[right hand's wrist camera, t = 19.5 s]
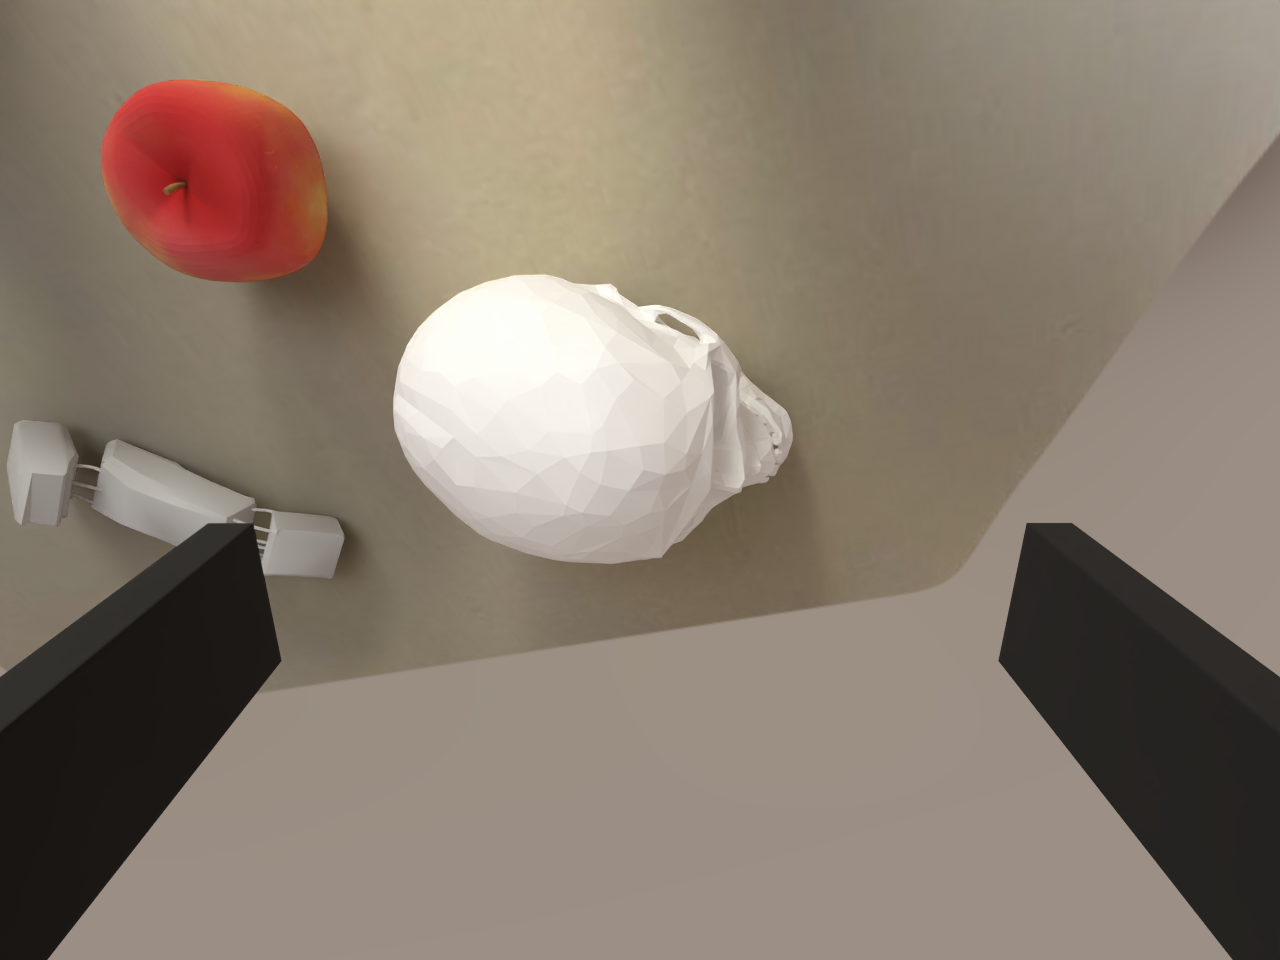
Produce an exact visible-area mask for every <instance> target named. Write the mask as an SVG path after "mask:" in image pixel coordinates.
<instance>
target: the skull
mask: <svg viewBox="0 0 1280 960" xmlns="http://www.w3.org/2000/svg"><path fill="white" fill-rule="evenodd" d="M662 314H669V315H671V316H672V317H674V318H676V319H677V320H679V321H681V322H682V323H684V324H686V325H687V326H689V327H691V328H692V329H693V330H694V331H695V333H696V334H697V336H698V337H699V338H700V340H699V339H697V338H695V337H693V336H689V335H685V334H682V333H681V332H679V331H677V330H675V329H672V328H670V327H669V326H667V325H666V324H664V323H663V321H662V320H661V319H660V317H659V316H658V315H662ZM393 416H394V427H395V432H396V434H397V437H398V439H399V442H400V444H401V447H402V449H403V452H404V455H405V457H406V459H407V460H408V462H409V464H410V465H411V467H412V469H413V470H414V472H415V473H416V474H417V476H418V477H419V478H420V479H421V481H422V482H423V483H424V484H425V486H426V487H427V488H428V489H429V490H430V491H431V492H432V493H433V494H435V495H436V496H437V497H438V498H439V499H440V500H441V501H442V502H443V503H444V504H445V505H446V506H447V507H448V508H449V509H450V510H451V511H452V512H453V513H454V514H455V515H456V516H457V517H458V518H459V519H461V520H462V521H463V522H464V523H466V524H467V525H468V526H470V527H471V528H472V529H473V530H475V531H476V532H477V533H478V534H480V535H481V536H483V537H485V538H487V539H489V540H492V541H494V542H497V543H500V544H502V545H505V546H508V547H510V548H513V549H516V550H518V551H521V552H524V553H526V554H531V555H535V556H539V557H543V558H547V559H551V560H558V561H566V562H579V563H603V564H615V563H622V562H629V561H636V560H647V559H652V558H662V556H663V555H664V553H665V552H666V551H667V550H668V549H669V547H670V546H671V545H673V544H675V543H678V542H680V541H682V540H683V539H684V538H685V537H686V536H687V535H688V534H689V533H690V532H691V531H692V530H693V529H694V528H695V527H696V526H697V525H699V524H700V523H701V522H702V521H703V519H704V518H705V516H706V515H707V514H708V512H709V511H710V510H711V509H712V508H713V507H714V506H716V505H718V504H719V503H721V502H723V501H724V500H726V499H727V498H729V497H731V496H732V495H734V494H737V493H740V492H741V490H742V487H746V486H750V485H754V484H757V483H766V482H767V481H768V480H769V476H775V475H776V473H777V471H778V469H779V466H780V465H781V464H782V463H783V462H784V460H785V459H786V457H787V456H788V453H789V450H790V447H791V444H792V441H793V433H792V425H791V420H790V418H789V416H788V413H787V412H786V410H785V409H784V408H783V407H781V406H780V405H779V404H778V403H776V402H775V401H774V400H772V399H771V398H770V397H768V396H767V395H766V394H764V393H763V392H762V391H761V390H760V389H759V388H757V387H756V386H755V385H754V384H753V383H752V382H751V381H750V380H749V379H748V378H747V377H746V376H745V375H744V374H743V372H742V369H741V367H740V365H739V362H738V361H737V359H736V358H735V357H734V355H733V354H732V352H731V351H730V349H729V348H728V347H727V345H726V344H725V343H724V342H723V340H722V339H721V338H720V337H719V336H718V335H717V334H716V333H715V332H714V331H713V330H712V329H711V328H710V327H708V326H707V325H705V324H704V323H702V322H701V321H699V320H698V319H696V318H695V317H693V316H690V315H688V314H685V313H683V312H681V311H678V310H676V309H673V308H671V307H666V306H661V305H650V306H642V307H638V306H636V305H635V304H633V303H632V302H630V301H629V300H627V299H626V298H624V297H623V296H622V295H620V294H619V293H618V291H617V288H616V287H614V286H613V285H611V284H598V285H586V284H573V283H571V282H569V281H566V280H564V279H562V278H558V277H554V276H549V275H545V274H541V275H514V276H510V277H506V278H501V279H497V280H493V281H488V282H485V283H482V284H480V285H478V286H475V287H473V288H470V289H468V290H465V291H463V292H461V293H459V294H457V295H456V296H455V297H453V298H452V299H450V300H449V301H448V302H446V303H445V304H443V305H442V306H441V307H439V308H438V309H437V310H436V311H434V312H433V313H432V314H431V315H430V316H429V317H428V318H427V319H426V320H425V321H424V322H423V323H422V324H421V325H420V326H419V327H418V329H417V330H416V332H415V334H414V335H413V337H412V338H411V340H410V341H409V343H408V345H407V347H406V349H405V352H404V354H403V357H402V359H401V362H400V364H399V366H398V371H397V378H396V385H395V391H394V398H393ZM767 475H768V476H767Z"/></svg>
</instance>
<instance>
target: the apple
mask: <svg viewBox="0 0 1280 960" xmlns="http://www.w3.org/2000/svg"><path fill="white" fill-rule="evenodd" d="M101 168H102V177H103V182H104V185H105V189H106V191H107V194H108V197H109V199H110V202H111V204H112V206H113V208H114V210H115V212H116V214H117V216H118V217H119V219H120V221H121V222H122V224H123V225H124V226H125V228H126V229H127V230H128V231H129V233H130V234H131V235H132V236H133V237H134V238H135V239H136V240H137V241H138V242H139V243H140V244H141V245H142V246H143V247H144V248H145V249H146V250H147V251H148V252H150V253H151V254H152V255H153V256H155V257H156V258H157V259H158V260H160V261H161V262H163V263H164V264H166V265H167V266H169V267H171V268H173V269H175V270H176V271H179V272H181V273H184V274H186V275H190V276H193V277H197V278H201V279H206V280H213V281H223V282H251V281H262V280H269V279H273V278H278V277H281V276H285V275H288V274H291V273H293V272H295V271H297V270H299V269H301V268H303V267H304V266H306V265H307V264H309V263H310V262H311V261H312V260H313V259H314V258H315V257H316V255H317V254H318V252H319V251H320V249H321V247H322V244H323V242H324V238H325V234H326V227H327V192H326V184H325V178H324V173H323V168H322V164H321V160H320V156H319V153H318V150H317V148H316V145H315V143H314V141H313V139H312V137H311V136H310V134H309V132H308V130H307V129H306V127H305V125H304V124H303V123H302V121H301V120H300V119H299V118H298V117H297V116H296V115H295V114H294V113H293V112H292V111H290V110H289V109H287V108H286V107H285V106H283V105H281V104H280V103H278V102H276V101H275V100H273V99H271V98H269V97H267V96H265V95H262V94H260V93H258V92H255V91H253V90H250V89H247V88H244V87H240V86H236V85H232V84H227V83H221V82H212V81H198V80H171V81H163V82H158V83H155V84H152V85H149V86H147V87H144V88H143V89H141V90H139V91H137V92H136V93H135V94H133V95H132V96H131V97H130V98H129V99H128V100H127V101H126V102H125V103H124V104H123V105H122V106H121V107H120V109H119V110H118V111H117V112H116V114H115V115H114V117H113V119H112V120H111V122H110V124H109V126H108V128H107V131H106V133H105V135H104V138H103V142H102V146H101Z"/></svg>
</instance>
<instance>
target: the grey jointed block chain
mask: <svg viewBox="0 0 1280 960" xmlns="http://www.w3.org/2000/svg"><path fill="white" fill-rule="evenodd" d="M78 457H79V456H78V454H77V451H76V449H75V446H74V444H73V441H72V439H71V437H70V434H69V432H68V429H67V428H66V427H65V426H64V425H62V424H60V423H53V422H40V421H28V420H22V421H20V422H17V423H16V424H14V429H13V435H12V440H11V445H10V451H9V456H8V461H7V472H8V478H9V484H10V490H11V497H12V504H13V510H14V517H15V520H16V521H17V522H18V523H19V524H20V525H21V526H22V525H24V524H27V523H29V522H30V523H37V524H44V525H51V526H59V524H60V521H61V519H62V518H64V517H67V515H68V507H69V499H72V496H74V497H77V498H79V499H82V500H84V501H87V502H89V503H92V506H91V508H93V509H95V510H96V511H98V512H100V513H102V514H104V515H105V516H107V517H109V518H111V519H112V520H114V521H116V522H118V523H119V524H121V525H124V526H126V527H129V528H132V529H134V530H137V531H140V532H142V533H145V534H147V535H150V536H153V537H155V538H158V539H160V540H163V541H166V542H168V543H170V544H172V545H174V546H176V547H177V546H178V545H179V544H181V543H182V542H183V541H185V540H186V539H187V538H189V537H190V536H191V535H193V534H194V533H196V532H197V531H198V530H200V529H201V528H202V527H204V526H205V525H206V524H208V523H253V519H254V515H255V511H257V512H268V513H271V515H272V517H271V523H270V528H269V529H266V528H262V527H258V526H254V529H256V530H260V531H264V532H269V533H268V538H267V541H263V540H259V539H257V543H261V544H266V546H261V545H258V548H259V549H264V554H263V553H259V554H260V556H261V557H260V559H261V563H262V568H263V573H264V575H265V576H270V575H271V576H295V577H318V578H329V579H331V578H332V577H333V575H334V572H335V569H336V565H337V562H338V559H339V556H340V552H341V549H342V546H343V543H344V539H345V536H344V533H343V531H342V529H341V527H340V525H339V523H338V520H337V519H336V518H334V517H331V516H324V515H313V514H302V513H291V512H280V511H274V510H270V509H261V508H256V507H257V506H256V504H255V499H254V498H252V497H247V496H244V495H242V494H240V493H237V492H235V491H233V490H230V489H228V488H225V487H223V486H221V485H218V484H216V483H214V482H211V481H209V480H207V479H205V478H203V477H200V476H198V475H196V474H194V473H192V472H190V471H188V470H186V469H184V468H183V467H181V466H180V465H179V464H178V463H176V462H173V461H171V460H168V459H166V458H163V457H161V456H158V455H156V454H153V453H151V452H148V451H146V450H143V449H141V448H138V447H136V446H133V445H131V444H128V443H126V442H123V441H121V440H119V439H116V440H112V441H110V442H108V443H107V444H106V448H105V451H104V455H103V458H102V462H101V466H100V468H99V467H95V466H91V465H82V464H78ZM77 467H78V468H89V469H93V470H96V471H98V472H99V475H98V479H97V483H96V486H93V485H88V484H84V483H80V482H76V481H75V477H76V470H77ZM74 486H78V487H85V488H89V489H93V490H95V492H94V496H93V500H92V499H89V498H87V497H84V496H82V495H79V494H77V493H74V492H73V490H74Z"/></svg>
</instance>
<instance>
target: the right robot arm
mask: <svg viewBox="0 0 1280 960" xmlns="http://www.w3.org/2000/svg"><path fill="white" fill-rule="evenodd" d="M280 662H281V656H280V651H279V646H278V642H277V637H276V632H275V627H274V622H273V617H272V612H271V607H270V602H269V598H268V593H267V588H266V583H265V578H264V573H263V568H262V563H261V559H260V554H259V549H258V544H257V539H256V534H255V529H254V524H253V523H208V524H206V525H205V526H204V527H202V528H201V529H200V530H198V531H197V532H196V533H194V534H193V535H191V536H190V537H189V538H187V539H186V540H185V541H183V542H182V543H181V544H179V545H178V546H177V547H175V548H174V549H173V550H171V551H170V552H169V553H167V554H166V555H164V556H163V557H162V558H160V559H159V560H158V561H156V562H155V563H154V564H152V565H151V566H150V567H148V568H147V569H146V570H144V571H143V572H141V573H140V574H139V575H137V576H136V577H135V578H133V579H132V580H131V581H129V582H128V583H127V584H125V585H124V586H123V587H121V588H120V589H119V590H117V591H116V592H114V593H113V594H112V595H110V596H109V597H108V598H106V599H105V600H104V601H102V602H101V603H100V604H98V605H97V606H96V607H94V608H93V609H92V610H90V611H89V612H87V613H86V614H85V615H83V616H82V617H81V618H79V619H78V620H77V621H75V622H74V623H73V624H71V625H70V626H69V627H67V628H66V629H65V630H63V631H62V632H60V633H59V634H58V635H56V636H55V637H54V638H52V639H51V640H50V641H48V642H47V643H46V644H44V645H43V646H42V647H40V648H39V649H38V650H36V651H35V652H33V653H32V654H31V655H29V656H28V657H27V658H25V659H24V660H23V661H21V662H20V663H19V664H17V665H16V666H15V667H13V668H12V669H10V670H9V671H8V672H6V673H5V674H4V675H2V676H1V677H0V960H47V959H48V958H49V957H50V956H51V954H52V953H53V952H54V951H55V949H56V948H57V947H58V945H59V944H60V943H61V942H62V940H63V939H64V938H65V936H66V935H67V934H68V933H69V931H70V930H71V929H72V928H73V926H74V925H75V924H76V922H77V921H78V920H79V919H80V917H81V916H82V915H83V914H84V912H85V911H86V910H87V908H88V907H89V906H90V905H91V903H92V902H93V901H94V899H95V898H96V897H97V896H98V894H99V893H100V892H101V891H102V889H103V888H104V887H105V885H106V884H107V883H108V882H109V880H110V879H111V878H112V877H113V875H114V874H115V873H116V871H117V870H118V869H119V868H120V866H121V865H122V864H123V862H124V861H125V860H126V859H127V857H128V856H129V855H130V854H131V852H132V851H133V850H134V848H135V847H136V846H137V845H138V843H139V842H140V841H141V839H142V838H143V837H144V836H145V834H146V833H147V832H148V831H149V829H150V828H151V827H152V825H153V824H154V823H155V822H156V820H157V819H158V818H159V817H160V815H161V814H162V813H163V811H164V810H165V809H166V808H167V806H168V805H169V804H170V802H171V801H172V800H173V799H174V797H175V796H176V795H177V794H178V792H179V791H180V790H181V788H182V787H183V786H184V785H185V783H186V782H187V781H188V779H189V778H190V777H191V776H192V774H193V773H194V772H195V771H196V769H197V768H198V767H199V765H200V764H201V763H202V762H203V760H204V759H205V758H206V757H207V755H208V754H209V753H210V751H211V750H212V749H213V748H214V746H215V745H216V744H217V742H218V741H219V740H220V739H221V737H222V736H223V735H224V734H225V732H226V731H227V730H228V728H229V727H230V726H231V725H232V723H233V722H234V721H235V720H236V718H237V717H238V716H239V714H240V713H241V712H242V711H243V709H244V708H245V707H246V705H247V704H248V703H249V702H250V700H251V699H252V698H253V697H254V695H255V694H256V693H257V691H258V690H259V689H260V688H261V686H262V685H263V684H264V683H265V681H266V680H267V679H268V677H269V676H270V675H271V674H272V672H273V671H274V670H275V669H276V667H277V666H278V665H279V663H280ZM999 662H1000V663H1001V665H1002V666H1003V667H1004V668H1005V670H1006V671H1007V672H1008V674H1009V675H1010V676H1011V677H1012V679H1013V680H1014V681H1015V682H1016V684H1017V685H1018V686H1019V688H1020V689H1021V690H1022V691H1023V693H1024V694H1025V695H1026V697H1027V698H1028V699H1029V700H1030V702H1031V703H1032V704H1033V705H1034V707H1035V708H1036V709H1037V711H1038V712H1039V713H1040V714H1041V716H1042V717H1043V718H1044V720H1045V721H1046V722H1047V723H1048V725H1049V726H1050V727H1051V728H1052V730H1053V731H1054V732H1055V734H1056V735H1057V736H1058V737H1059V739H1060V740H1061V741H1062V743H1063V744H1064V745H1065V746H1066V748H1067V749H1068V750H1069V751H1070V753H1071V754H1072V755H1073V757H1074V758H1075V759H1076V760H1077V762H1078V763H1079V764H1080V765H1081V767H1082V768H1083V769H1084V771H1085V772H1086V773H1087V774H1088V776H1089V777H1090V778H1091V780H1092V781H1093V782H1094V783H1095V785H1096V786H1097V787H1098V788H1099V790H1100V791H1101V792H1102V794H1103V795H1104V796H1105V797H1106V799H1107V800H1108V801H1109V802H1110V804H1111V805H1112V806H1113V808H1114V809H1115V810H1116V811H1117V813H1118V814H1119V815H1120V817H1121V818H1122V819H1123V820H1124V822H1125V823H1126V824H1127V825H1128V827H1129V828H1130V829H1131V831H1132V832H1133V833H1134V834H1135V836H1136V837H1137V838H1138V839H1139V841H1140V842H1141V843H1142V845H1143V846H1144V847H1145V848H1146V850H1147V851H1148V852H1149V854H1150V855H1151V856H1152V857H1153V859H1154V860H1155V861H1156V862H1157V864H1158V865H1159V866H1160V868H1161V869H1162V870H1163V871H1164V873H1165V874H1166V875H1167V876H1168V878H1169V879H1170V880H1171V882H1172V883H1173V884H1174V885H1175V887H1176V888H1177V889H1178V891H1179V892H1180V893H1181V894H1182V896H1183V897H1184V898H1185V899H1186V901H1187V902H1188V903H1189V905H1190V906H1191V907H1192V908H1193V910H1194V911H1195V912H1196V913H1197V915H1198V916H1199V917H1200V919H1201V920H1202V921H1203V922H1204V924H1205V925H1206V926H1207V928H1208V929H1209V930H1210V931H1211V933H1212V934H1213V935H1214V936H1215V938H1216V939H1217V940H1218V942H1219V943H1220V944H1221V945H1222V947H1223V948H1224V949H1225V951H1226V952H1227V953H1228V954H1229V956H1230V957H1231V958H1232V959H1233V960H1280V677H1279V676H1278V675H1276V674H1275V673H1274V672H1272V671H1271V670H1269V669H1268V668H1267V667H1265V666H1264V665H1263V664H1261V663H1260V662H1259V661H1257V660H1256V659H1255V658H1253V657H1252V656H1251V655H1249V654H1248V653H1246V652H1245V651H1244V650H1242V649H1241V648H1240V647H1238V646H1237V645H1236V644H1234V643H1233V642H1232V641H1230V640H1229V639H1228V638H1226V637H1225V636H1224V635H1222V634H1221V633H1219V632H1218V631H1217V630H1215V629H1214V628H1213V627H1211V626H1210V625H1209V624H1207V623H1206V622H1205V621H1203V620H1202V619H1201V618H1199V617H1198V616H1197V615H1195V614H1194V613H1193V612H1191V611H1190V610H1188V609H1187V608H1186V607H1184V606H1183V605H1182V604H1180V603H1179V602H1178V601H1176V600H1175V599H1174V598H1172V597H1171V596H1170V595H1168V594H1167V593H1165V592H1164V591H1163V590H1161V589H1160V588H1159V587H1157V586H1156V585H1155V584H1153V583H1152V582H1151V581H1149V580H1148V579H1147V578H1145V577H1144V576H1143V575H1141V574H1140V573H1138V572H1137V571H1136V570H1134V569H1133V568H1132V567H1130V566H1129V565H1128V564H1126V563H1125V562H1124V561H1122V560H1121V559H1120V558H1118V557H1117V556H1116V555H1114V554H1113V553H1111V552H1110V551H1109V550H1107V549H1106V548H1105V547H1103V546H1102V545H1101V544H1099V543H1098V542H1097V541H1095V540H1094V539H1093V538H1091V537H1090V536H1088V535H1087V534H1086V533H1084V532H1083V531H1082V530H1080V529H1079V528H1078V527H1076V526H1075V525H1074V524H1072V523H1027V524H1026V530H1025V534H1024V539H1023V544H1022V549H1021V554H1020V559H1019V563H1018V568H1017V573H1016V578H1015V583H1014V588H1013V593H1012V598H1011V602H1010V607H1009V612H1008V617H1007V622H1006V627H1005V632H1004V637H1003V642H1002V646H1001V651H1000V656H999Z"/></svg>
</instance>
